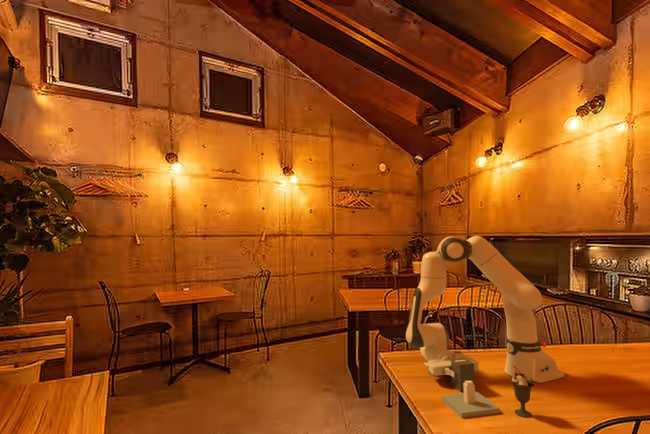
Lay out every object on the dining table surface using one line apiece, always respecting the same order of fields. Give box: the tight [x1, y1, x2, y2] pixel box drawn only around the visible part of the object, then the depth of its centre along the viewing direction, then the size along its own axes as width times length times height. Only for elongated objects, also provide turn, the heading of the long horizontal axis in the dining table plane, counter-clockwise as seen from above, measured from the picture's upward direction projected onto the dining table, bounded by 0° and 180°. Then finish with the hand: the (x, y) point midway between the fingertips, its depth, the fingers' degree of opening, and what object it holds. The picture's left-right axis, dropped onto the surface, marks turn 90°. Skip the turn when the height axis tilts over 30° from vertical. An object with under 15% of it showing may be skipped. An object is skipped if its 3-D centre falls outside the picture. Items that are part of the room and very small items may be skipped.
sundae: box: [509, 366, 535, 419], centre depth 110 cm, size 7×7×15 cm
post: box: [441, 380, 501, 419], centre depth 115 cm, size 14×12×8 cm
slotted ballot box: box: [451, 358, 476, 393], centre depth 129 cm, size 6×6×10 cm
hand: (464, 373), depth 128 cm, fingers closed on slotted ballot box, 6 cm apart
